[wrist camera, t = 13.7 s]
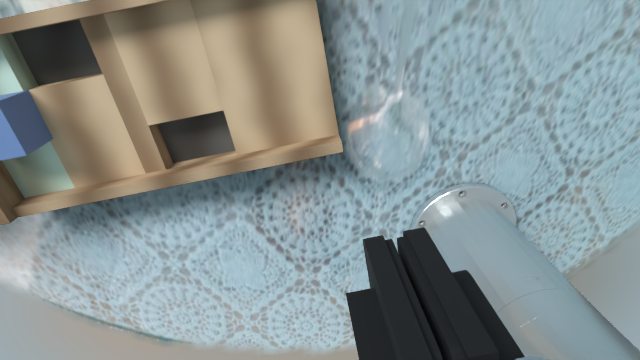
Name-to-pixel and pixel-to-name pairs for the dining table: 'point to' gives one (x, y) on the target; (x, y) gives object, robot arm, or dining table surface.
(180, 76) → the trap board
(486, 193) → the robot arm
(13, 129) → the blue block
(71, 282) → the dining table surface
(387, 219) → the dining table surface
